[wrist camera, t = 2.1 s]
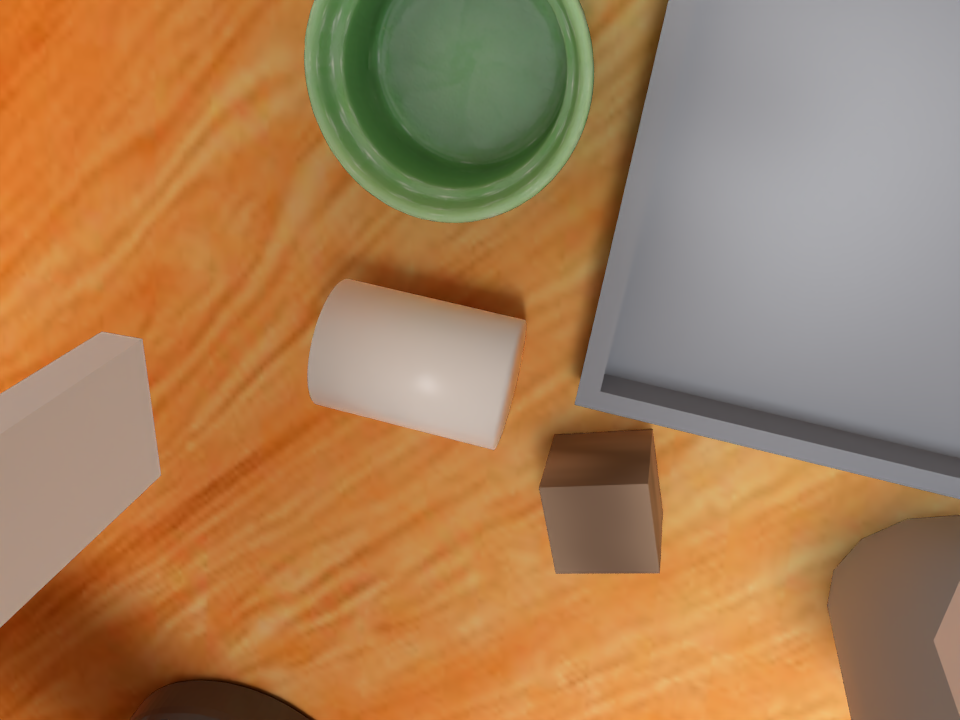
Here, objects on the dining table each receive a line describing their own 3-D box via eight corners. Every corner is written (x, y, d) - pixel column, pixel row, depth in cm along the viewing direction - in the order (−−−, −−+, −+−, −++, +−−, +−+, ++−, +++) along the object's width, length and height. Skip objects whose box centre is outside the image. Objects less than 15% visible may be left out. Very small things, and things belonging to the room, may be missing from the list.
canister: (360, 348, 35) (312, 431, 31) (357, 253, 31) (302, 333, 28) (518, 387, 34) (487, 476, 30) (532, 293, 30) (499, 381, 27)
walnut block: (569, 513, 35) (555, 573, 32) (554, 433, 34) (539, 487, 30) (662, 510, 34) (659, 573, 30) (652, 428, 32) (647, 483, 29)
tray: (581, 379, 32) (574, 404, 30) (704, -148, 24) (705, -158, 22) (1063, 495, 30) (1087, 530, 28) (1388, -51, 21) (1454, -52, 19)
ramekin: (554, 226, 30) (533, 264, 26) (331, 141, 30) (278, 166, 27) (649, -31, 26) (641, -31, 22) (387, -123, 26) (335, -139, 22)
